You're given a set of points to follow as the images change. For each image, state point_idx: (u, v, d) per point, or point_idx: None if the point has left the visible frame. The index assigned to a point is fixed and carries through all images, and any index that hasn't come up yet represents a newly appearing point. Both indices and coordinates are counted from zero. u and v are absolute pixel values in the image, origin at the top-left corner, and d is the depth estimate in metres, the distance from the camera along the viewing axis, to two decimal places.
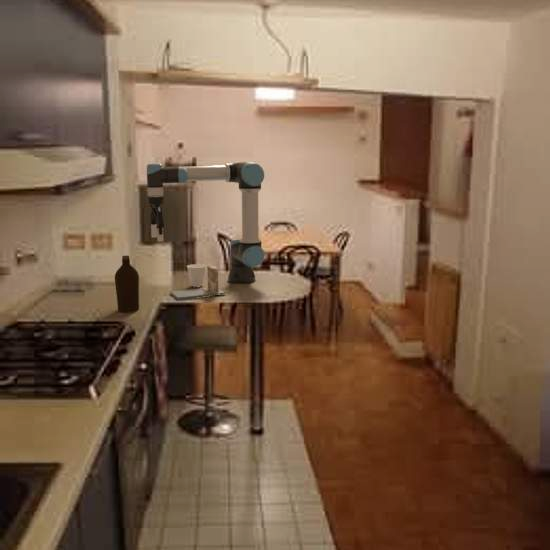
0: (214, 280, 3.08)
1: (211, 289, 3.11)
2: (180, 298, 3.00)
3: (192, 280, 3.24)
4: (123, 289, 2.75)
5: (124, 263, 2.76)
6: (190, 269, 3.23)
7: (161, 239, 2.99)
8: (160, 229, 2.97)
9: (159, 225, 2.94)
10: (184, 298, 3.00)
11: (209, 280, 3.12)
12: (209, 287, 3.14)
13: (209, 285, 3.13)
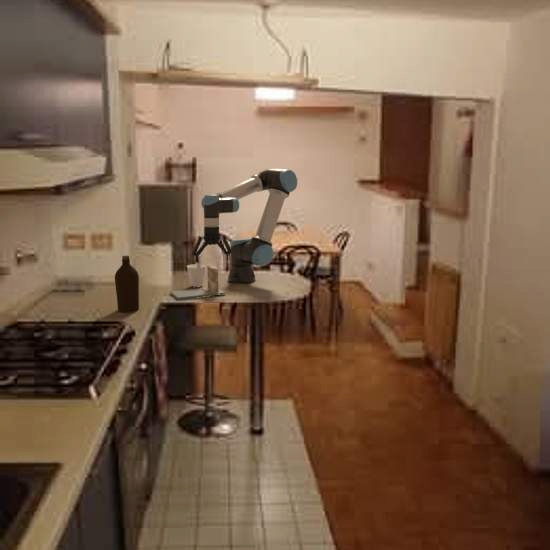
0: (214, 280, 3.08)
1: (211, 289, 3.11)
2: (180, 298, 3.00)
3: (192, 280, 3.24)
4: (123, 289, 2.75)
5: (124, 263, 2.76)
6: (190, 269, 3.23)
7: (198, 267, 3.07)
8: (195, 257, 3.06)
9: None
10: (184, 298, 3.00)
11: (209, 280, 3.12)
12: (209, 287, 3.14)
13: (209, 285, 3.13)
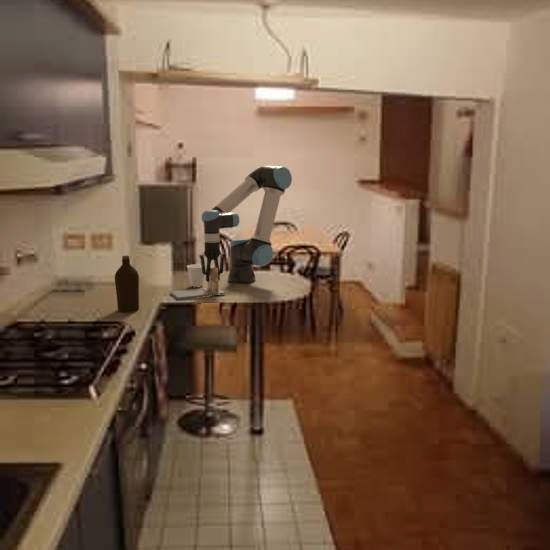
0: (214, 280, 3.08)
1: (211, 289, 3.11)
2: (180, 298, 3.00)
3: (192, 280, 3.24)
4: (123, 289, 2.75)
5: (124, 263, 2.76)
6: (190, 269, 3.23)
7: (209, 286, 3.11)
8: (206, 276, 3.10)
9: (202, 272, 3.10)
10: (184, 298, 3.00)
11: None
12: None
13: None
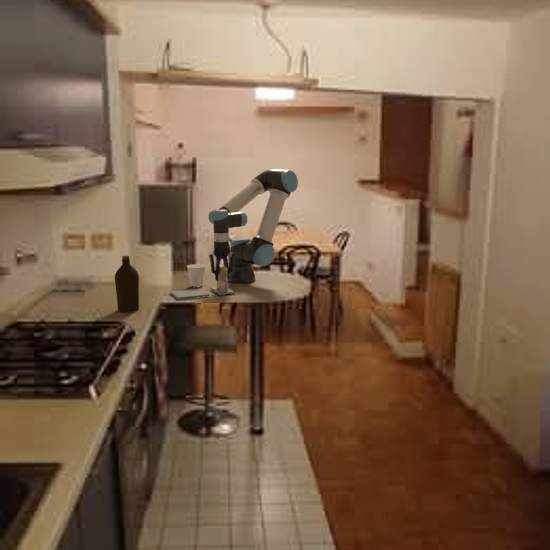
0: (223, 279, 3.10)
1: (220, 288, 3.13)
2: (180, 298, 3.00)
3: (192, 280, 3.24)
4: (123, 289, 2.75)
5: (124, 263, 2.76)
6: (190, 269, 3.23)
7: (218, 285, 3.13)
8: (215, 275, 3.12)
9: None
10: (184, 298, 3.00)
11: None
12: None
13: None
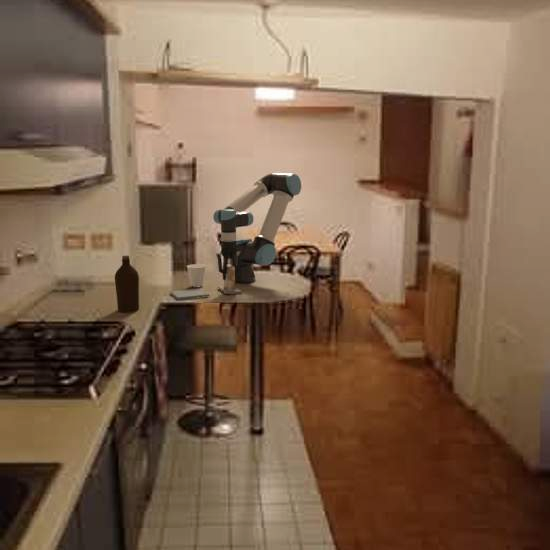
0: (230, 278, 3.12)
1: (228, 287, 3.14)
2: (180, 298, 3.00)
3: (192, 280, 3.24)
4: (123, 289, 2.75)
5: (124, 263, 2.76)
6: (190, 269, 3.23)
7: (225, 284, 3.15)
8: None
9: None
10: (184, 298, 3.00)
11: None
12: None
13: None
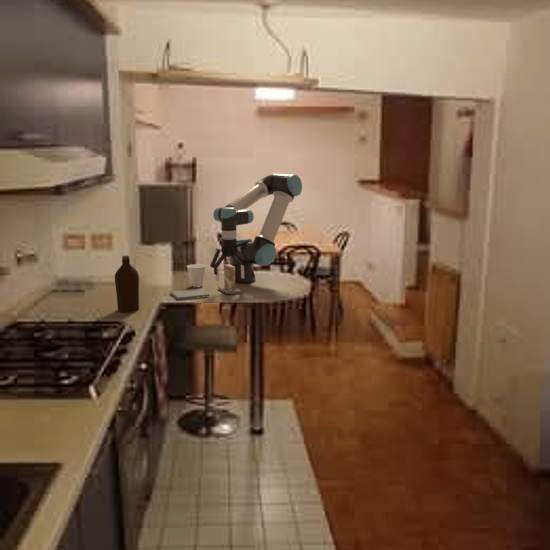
0: (231, 278, 3.12)
1: (228, 287, 3.14)
2: (180, 298, 3.00)
3: (192, 280, 3.24)
4: (123, 289, 2.75)
5: (124, 263, 2.76)
6: (190, 269, 3.23)
7: (217, 279, 3.13)
8: (214, 269, 3.12)
9: (210, 265, 3.11)
10: (184, 298, 3.00)
11: (226, 278, 3.16)
12: (226, 285, 3.17)
13: (226, 283, 3.17)
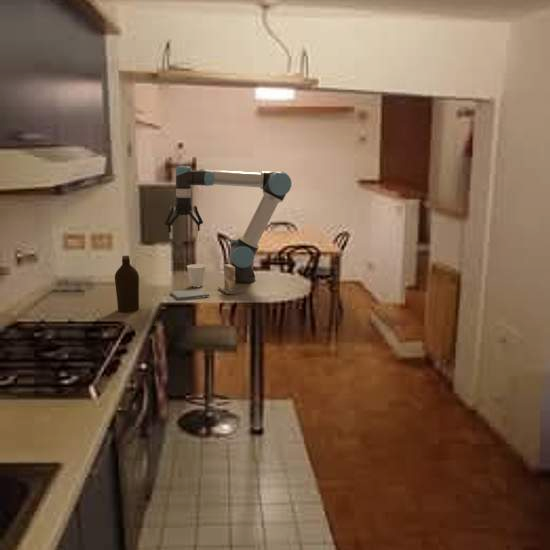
0: (231, 278, 3.12)
1: (228, 287, 3.14)
2: (180, 298, 3.00)
3: (192, 280, 3.24)
4: (123, 289, 2.75)
5: (124, 263, 2.76)
6: (190, 269, 3.23)
7: (170, 237, 3.18)
8: (168, 227, 3.17)
9: (164, 222, 3.16)
10: (184, 298, 3.00)
11: (226, 278, 3.16)
12: (226, 285, 3.17)
13: (226, 283, 3.17)
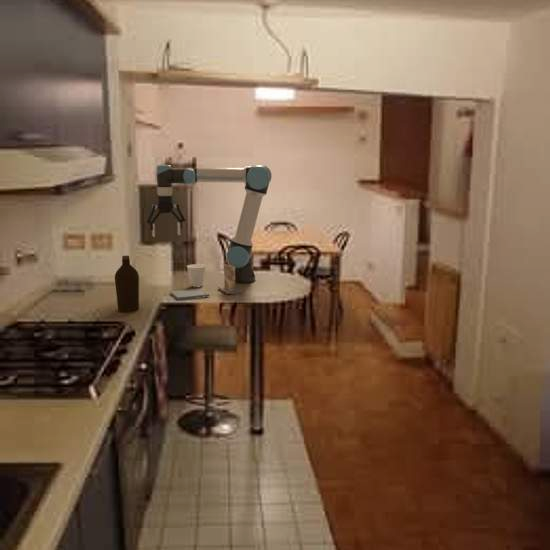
0: (231, 278, 3.12)
1: (228, 287, 3.14)
2: (180, 298, 3.00)
3: (192, 280, 3.24)
4: (123, 289, 2.75)
5: (124, 263, 2.76)
6: (190, 269, 3.23)
7: (153, 234, 3.22)
8: (150, 225, 3.21)
9: (146, 221, 3.21)
10: (184, 298, 3.00)
11: (226, 278, 3.16)
12: (226, 285, 3.17)
13: (226, 283, 3.17)
